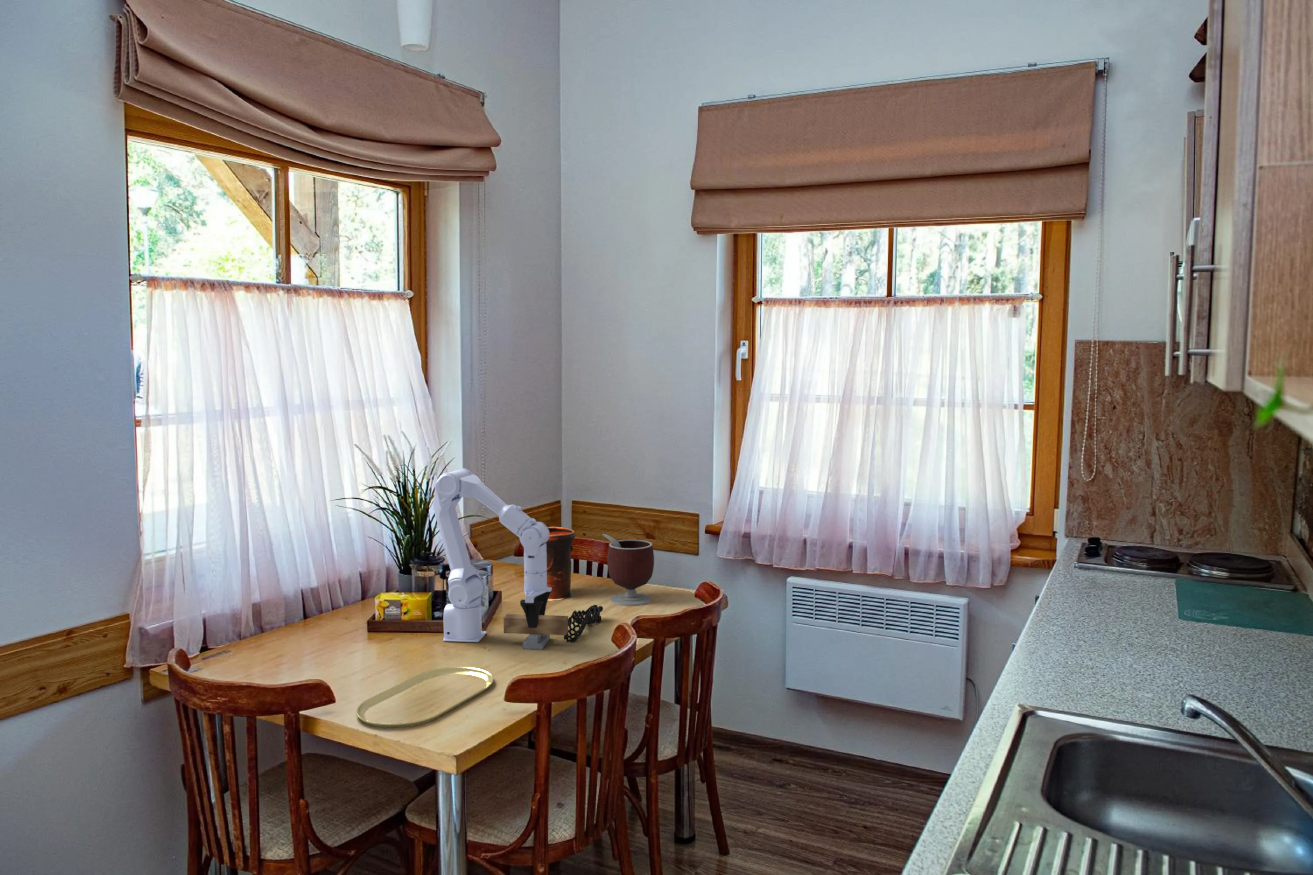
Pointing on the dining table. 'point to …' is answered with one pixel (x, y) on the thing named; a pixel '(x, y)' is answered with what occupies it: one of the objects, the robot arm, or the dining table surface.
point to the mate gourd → (630, 569)
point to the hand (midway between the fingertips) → (536, 622)
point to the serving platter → (415, 680)
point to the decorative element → (582, 621)
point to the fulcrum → (535, 641)
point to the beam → (545, 626)
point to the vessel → (559, 562)
